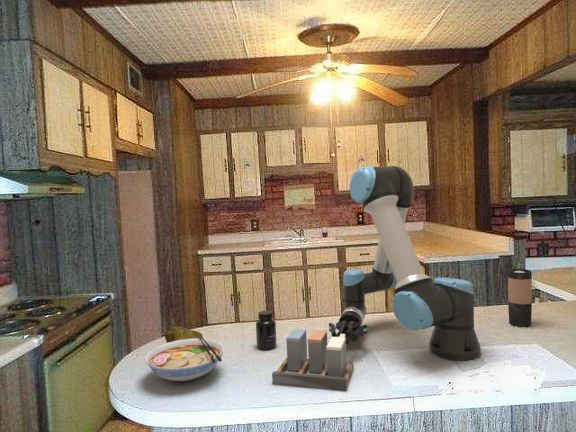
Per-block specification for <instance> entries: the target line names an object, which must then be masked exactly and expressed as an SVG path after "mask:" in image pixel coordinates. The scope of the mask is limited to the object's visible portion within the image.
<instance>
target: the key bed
mask: <svg viewBox="0 0 576 432" xmlns="http://www.w3.org/2000/svg"><path fill="white" fill-rule="evenodd" d="M347 366H348V367H347V371H346V374H345V376H344V377H336V376H328V373H327V364H326V366H325V368H324V370H323V372H322V373H320V374H310V373H308V372H309V358H307V360H306V362H305V363H304V365H303V367H302V368H301V370H300V371H298V372H287V370H288V364H287V357H286V358H284V360H283V362H282V363H281V364H280V366H279V368H277V370H275V371H272V373H271V380H272V381H271V382H272V383H271V384H272V385H277V386H291V387H301V388H309V389H310V388H311V389H321V390H333V391H343V392H346V391H348V390H347V389H348V387H349V384H350V381H351V378H352V375H353V372H354V367H355V366H354V362H353V361H350V362H349V363H348V365H347Z"/></svg>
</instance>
